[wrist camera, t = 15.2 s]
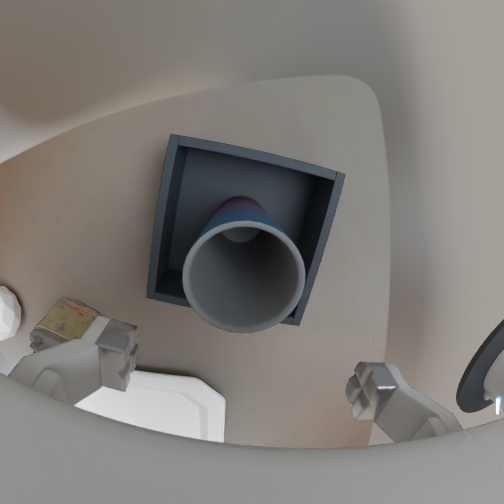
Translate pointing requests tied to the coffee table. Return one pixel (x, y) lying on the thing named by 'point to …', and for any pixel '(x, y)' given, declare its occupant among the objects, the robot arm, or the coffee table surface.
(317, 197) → the tub
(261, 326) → the cup
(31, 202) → the coffee table surface
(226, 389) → the coffee table surface
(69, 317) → the lighter
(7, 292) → the geometric ball
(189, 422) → the plate
